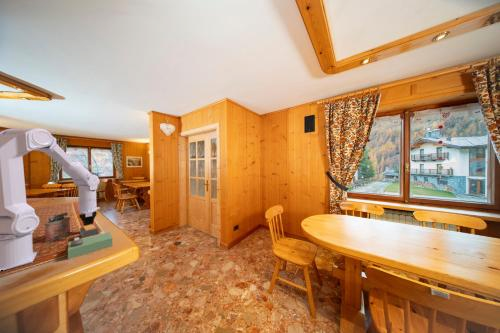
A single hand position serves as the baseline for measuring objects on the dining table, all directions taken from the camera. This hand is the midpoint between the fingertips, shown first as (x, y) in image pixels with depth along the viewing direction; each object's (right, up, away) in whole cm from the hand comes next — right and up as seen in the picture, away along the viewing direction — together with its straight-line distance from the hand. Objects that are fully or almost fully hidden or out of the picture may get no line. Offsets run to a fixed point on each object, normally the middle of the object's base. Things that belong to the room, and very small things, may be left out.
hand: (88, 228), depth 72 cm
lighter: (-8, -2, -5) cm, 9 cm away
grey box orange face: (+6, -2, -5) cm, 8 cm away
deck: (+15, -1, -13) cm, 19 cm away
